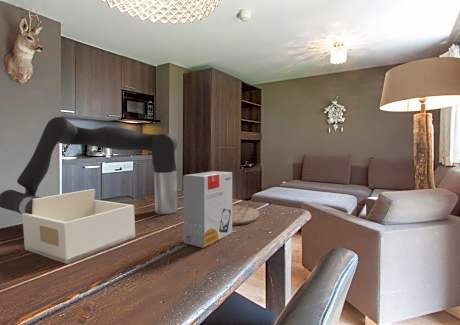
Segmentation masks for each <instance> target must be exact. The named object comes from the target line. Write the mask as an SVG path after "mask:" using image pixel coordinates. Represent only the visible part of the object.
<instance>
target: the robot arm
mask: <svg viewBox="0 0 460 325" xmlns="http://www.w3.org/2000/svg"><path fill="white" fill-rule="evenodd" d="M58 143H60V144H63V145H69V146H70V145H71V146H72V145H76V146H77V145H79V146H92V147H97V148H104V149H109V150H119V151H146V152H147V151H148V152H151V160H152V166H153V179H154V180H153V181H154V182H153V184H154V210H155V214H158V215H169V214H174V213H178V186H177V184H178V182H177V180H178V179H177V164H176V159H175V158H176V157H175V151H176V149H177V148H178V147H177V146H178V143H177V141H176V138H175V137H174V136H172V135H171V134H168V133H157V134H156V133H155V134H154V133H144V132H140V131H135V130H132V129H127V128H122V127H116V126H115V127H114V126H101V127H98V128H86V127H79V126H76V125H74V124H73V123H72V122H71V121H69V120H68V119H67V118H65V117H62V116H55V117H53V118H51V119H49V121H48V122H47V123H46V125H45V128H44V129H43V131H42V134H41V136H40V139H39V141H38V143H37V145H36V148H35V150H34V151H33V154H32V156H31V157H30V159H29V161H28V162H27V163H26V164H27V165H26V166H25V167H24V169H23V170H22V172H21V174H20V175H19V176H18V178H17V180H16V183H17V184H18V185H19V186H21V187H23V188H24V189H25V192H24V193H23V192H22V191H21V192H20V191H18V190H14V189H7V190H4V191H2V192H1V193H0V208H2V209H5V210H9V211H12V212H16V213H18V214H20V215H22V214H25V213H28V214H32V204H33V199H35V198H41V197H42V196H38V195H37V192H38V188H39V186H40V184H41V183H42V181H44V180H43V179H44V178H45V177H46V175H47V172H48V170H49V169H50V164H51V158H52V154H53V152H54V150H55V148H56V146H57V144H58Z"/></svg>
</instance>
